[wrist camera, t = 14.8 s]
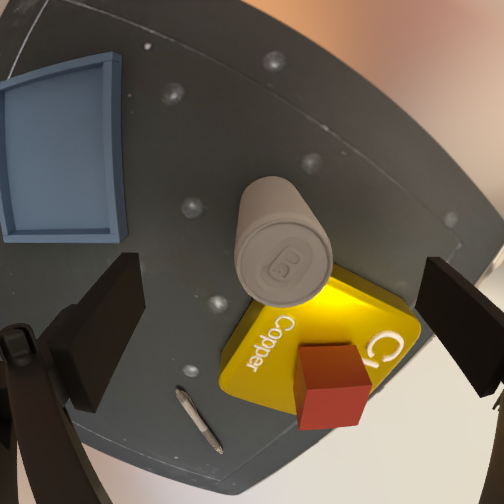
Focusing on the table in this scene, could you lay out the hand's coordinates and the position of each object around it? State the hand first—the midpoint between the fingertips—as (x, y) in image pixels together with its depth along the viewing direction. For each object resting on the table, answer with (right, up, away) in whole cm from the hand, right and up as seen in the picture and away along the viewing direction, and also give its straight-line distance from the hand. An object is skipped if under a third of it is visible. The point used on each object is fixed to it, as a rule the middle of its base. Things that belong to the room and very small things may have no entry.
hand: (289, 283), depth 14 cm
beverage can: (0, +5, +13) cm, 14 cm away
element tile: (+5, -7, +17) cm, 19 cm away
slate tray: (-19, +10, +10) cm, 24 cm away
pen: (-8, -20, +23) cm, 31 cm away
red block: (+5, -9, +13) cm, 16 cm away
